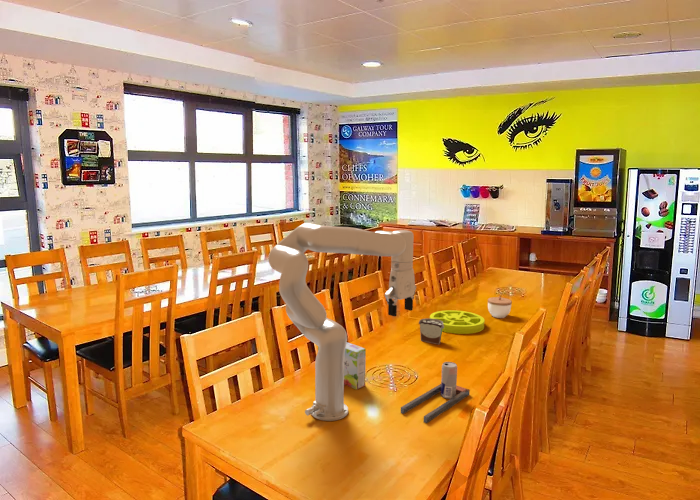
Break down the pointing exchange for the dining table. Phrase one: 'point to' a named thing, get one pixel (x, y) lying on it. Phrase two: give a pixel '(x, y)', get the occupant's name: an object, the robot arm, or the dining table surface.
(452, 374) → the energy drink
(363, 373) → the snack box
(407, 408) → the guide track
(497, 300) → the lidded bowl
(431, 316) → the pulley
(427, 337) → the food container
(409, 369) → the dining table surface
